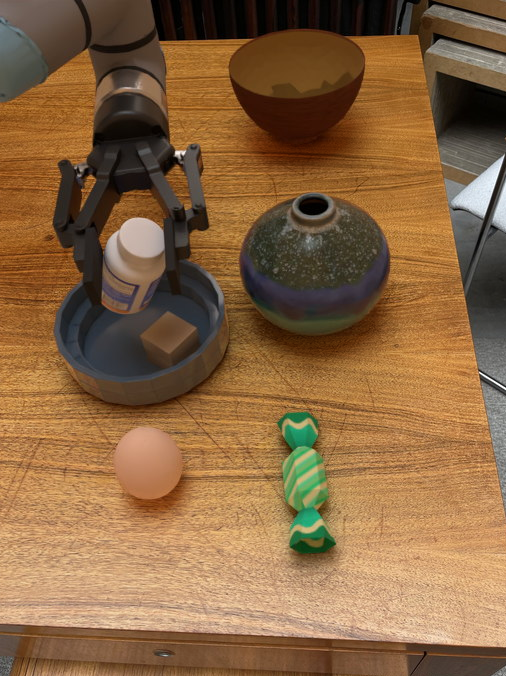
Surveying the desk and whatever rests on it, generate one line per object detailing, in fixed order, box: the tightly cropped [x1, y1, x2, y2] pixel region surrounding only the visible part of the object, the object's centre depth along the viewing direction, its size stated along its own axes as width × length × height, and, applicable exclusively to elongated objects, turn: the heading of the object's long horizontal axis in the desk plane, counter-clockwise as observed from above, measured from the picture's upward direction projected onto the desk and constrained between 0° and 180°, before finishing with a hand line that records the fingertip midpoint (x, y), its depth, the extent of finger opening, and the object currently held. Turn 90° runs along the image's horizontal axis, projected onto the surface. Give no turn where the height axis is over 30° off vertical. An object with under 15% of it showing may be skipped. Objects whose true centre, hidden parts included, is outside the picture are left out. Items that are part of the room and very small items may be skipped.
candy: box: [276, 411, 337, 555], centre depth 55 cm, size 12×3×4 cm
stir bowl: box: [53, 259, 230, 406], centre depth 66 cm, size 17×17×4 cm
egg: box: [112, 426, 184, 500], centre depth 55 cm, size 6×6×8 cm
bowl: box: [227, 28, 366, 145], centre depth 86 cm, size 18×18×10 cm
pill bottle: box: [102, 217, 166, 314], centre depth 57 cm, size 5×5×10 cm
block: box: [140, 311, 201, 370], centre depth 64 cm, size 4×4×4 cm
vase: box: [238, 191, 391, 337], centre depth 64 cm, size 15×15×13 cm
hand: (133, 288), depth 51 cm, fingers closed on pill bottle, 6 cm apart
